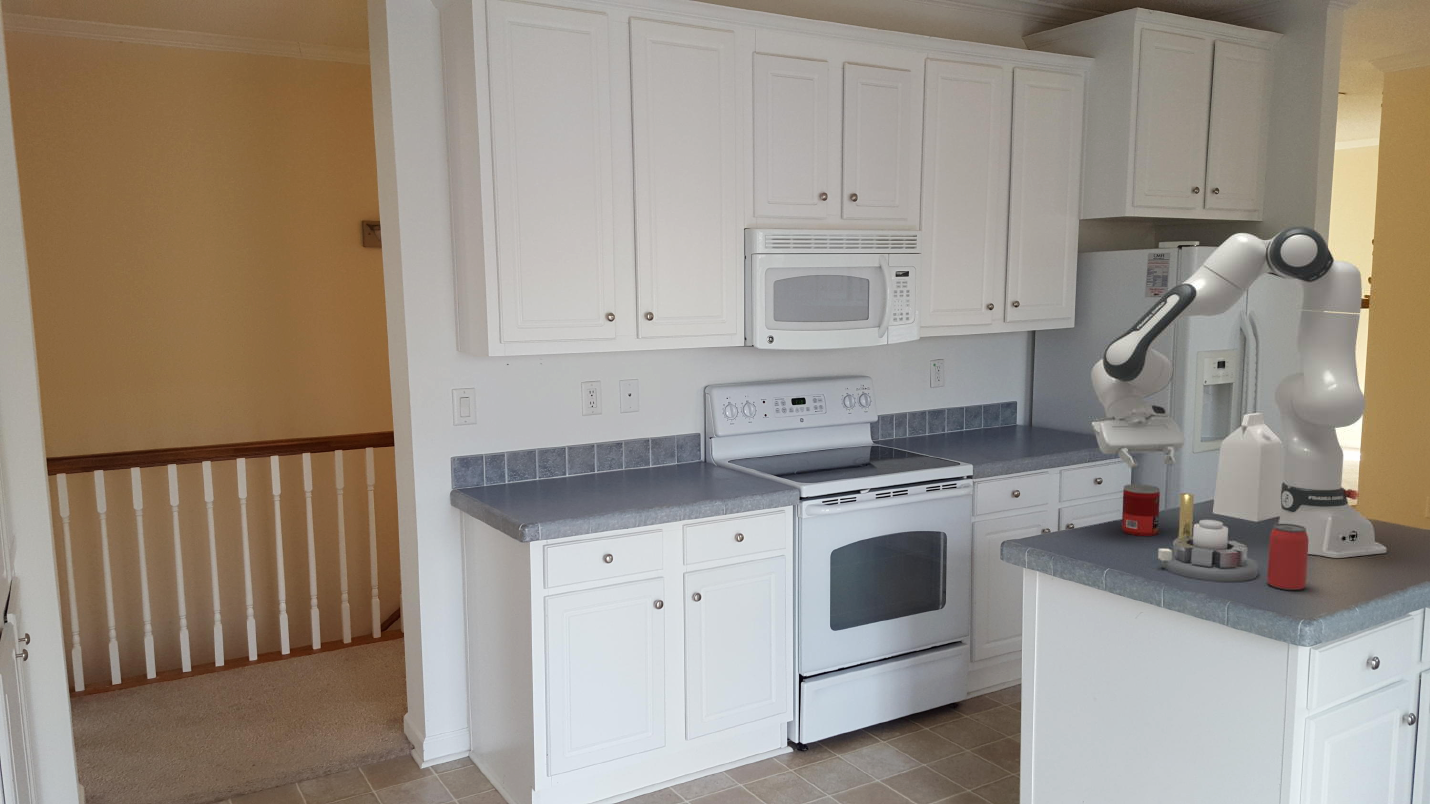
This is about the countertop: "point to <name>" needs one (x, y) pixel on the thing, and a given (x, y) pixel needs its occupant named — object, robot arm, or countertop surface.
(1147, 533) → the canned food
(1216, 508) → the milk
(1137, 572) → the countertop surface
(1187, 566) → the flange base
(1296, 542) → the beer can
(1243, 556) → the gear with peg
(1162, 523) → the countertop surface
